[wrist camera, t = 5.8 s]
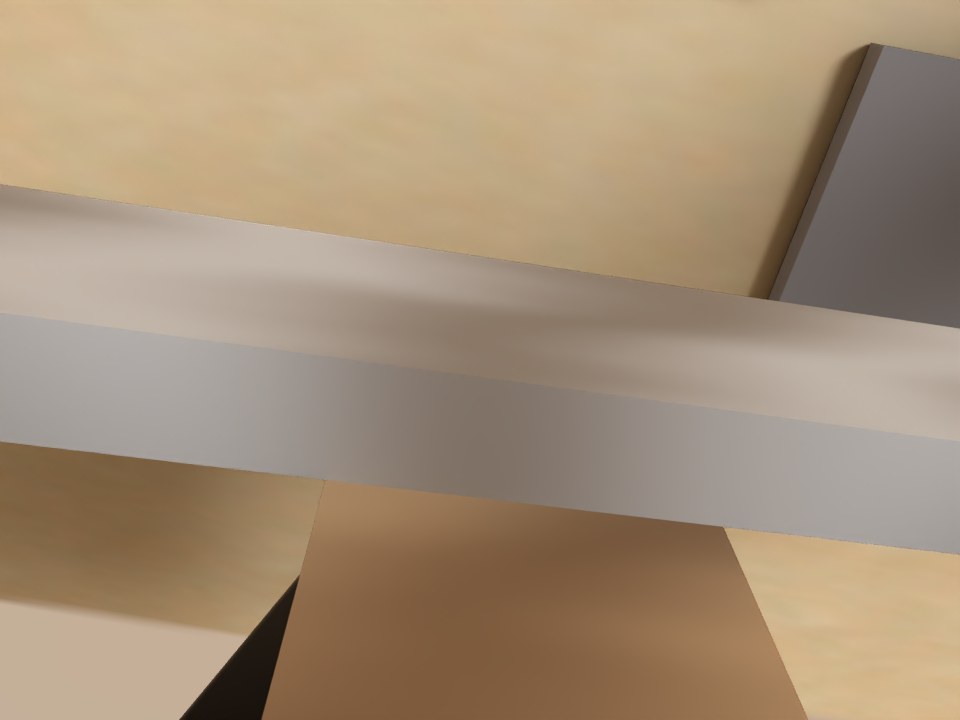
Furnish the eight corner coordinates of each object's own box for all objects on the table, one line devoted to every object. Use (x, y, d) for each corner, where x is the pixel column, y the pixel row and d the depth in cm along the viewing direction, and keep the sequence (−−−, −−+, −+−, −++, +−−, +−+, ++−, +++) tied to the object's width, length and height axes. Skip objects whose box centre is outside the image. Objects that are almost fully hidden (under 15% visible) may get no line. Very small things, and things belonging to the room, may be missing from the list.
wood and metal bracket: (1038, 341, 8) (1659, 768, 4) (779, 753, 12) (946, 1189, 8) (-51, 176, 7) (-838, 525, 3) (54, 690, 11) (-208, 1158, 7)
